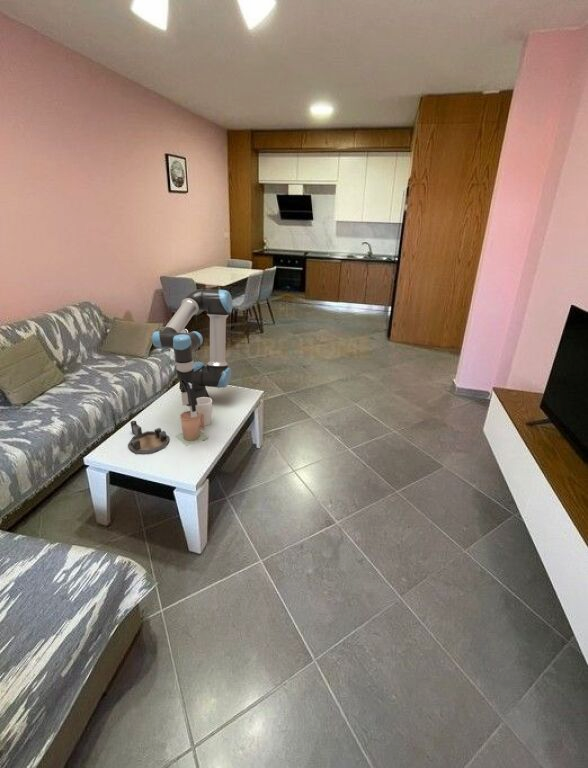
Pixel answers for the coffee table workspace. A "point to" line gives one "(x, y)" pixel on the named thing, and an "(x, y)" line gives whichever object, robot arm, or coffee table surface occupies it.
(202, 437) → the mat
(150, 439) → the base plate
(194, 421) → the terracotta mug
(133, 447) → the collar
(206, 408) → the foam cup
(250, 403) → the coffee table surface
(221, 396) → the coffee table surface
